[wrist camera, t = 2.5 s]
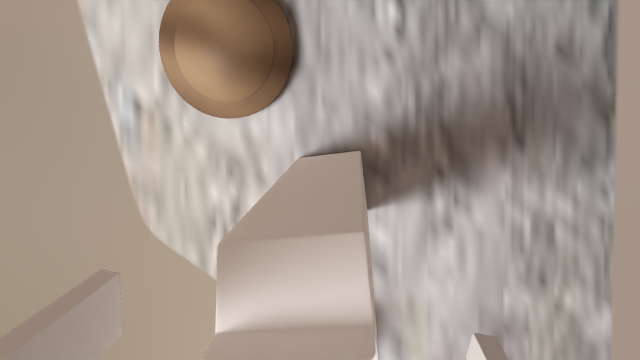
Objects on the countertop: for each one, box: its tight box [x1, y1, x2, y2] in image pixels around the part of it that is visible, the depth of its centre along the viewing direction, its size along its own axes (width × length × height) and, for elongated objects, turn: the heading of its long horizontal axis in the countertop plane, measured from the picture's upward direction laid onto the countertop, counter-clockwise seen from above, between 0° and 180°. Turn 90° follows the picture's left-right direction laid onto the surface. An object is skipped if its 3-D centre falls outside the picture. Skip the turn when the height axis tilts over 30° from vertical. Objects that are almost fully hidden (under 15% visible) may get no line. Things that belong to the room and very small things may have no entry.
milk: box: [201, 151, 379, 360], centre depth 21 cm, size 6×6×22 cm
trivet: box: [159, 0, 293, 118], centre depth 29 cm, size 12×12×1 cm
